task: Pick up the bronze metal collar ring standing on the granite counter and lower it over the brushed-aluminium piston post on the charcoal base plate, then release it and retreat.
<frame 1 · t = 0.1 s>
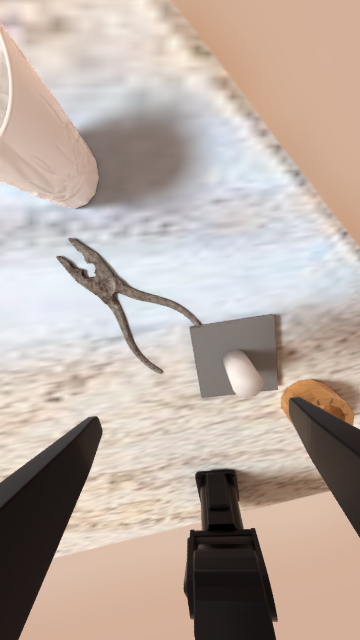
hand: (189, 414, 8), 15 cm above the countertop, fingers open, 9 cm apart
piston block: (233, 356, 23), on the countertop
white cup: (70, 174, 19), on the countertop
ring: (305, 400, 24), on the countertop
pliers: (126, 313, 23), on the countertop
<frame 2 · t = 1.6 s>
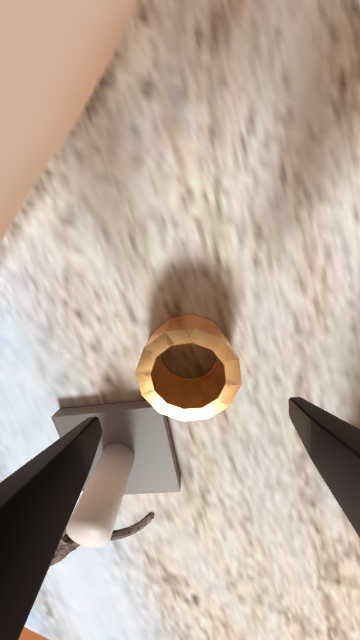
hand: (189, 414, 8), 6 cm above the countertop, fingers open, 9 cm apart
piston block: (122, 445, 17), on the countertop
ring: (188, 353, 14), on the countertop
pliers: (89, 526, 22), on the countertop
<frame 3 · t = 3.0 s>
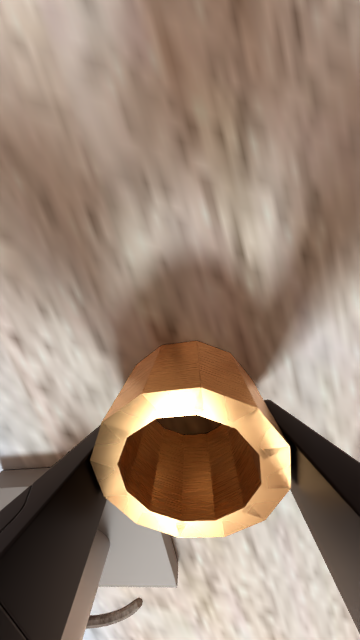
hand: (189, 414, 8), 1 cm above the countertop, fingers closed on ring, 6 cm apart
piston block: (95, 520, 12), on the countertop
ring: (189, 399, 9), on the countertop, touching gripper
pliers: (59, 604, 17), on the countertop
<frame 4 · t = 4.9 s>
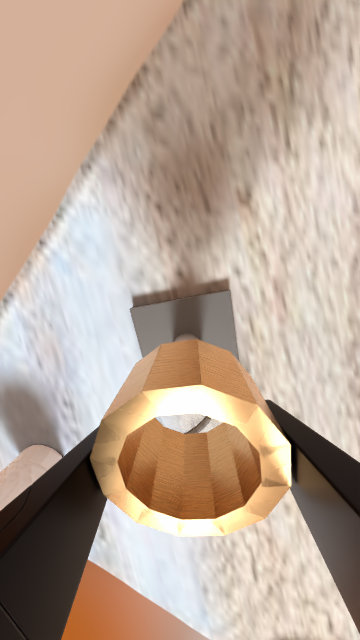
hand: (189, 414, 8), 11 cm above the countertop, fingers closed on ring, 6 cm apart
piston block: (187, 343, 19), on the countertop
white cup: (45, 460, 26), on the countertop
ring: (189, 398, 9), point 10 cm above the countertop, touching gripper
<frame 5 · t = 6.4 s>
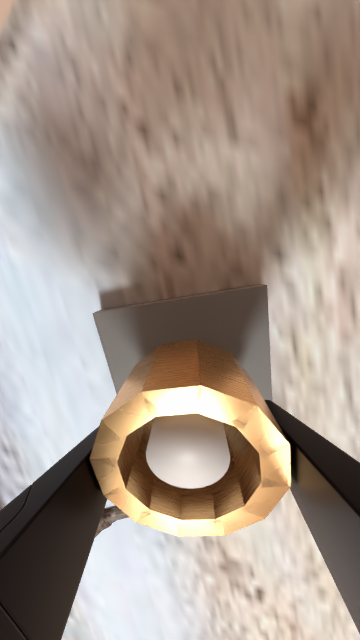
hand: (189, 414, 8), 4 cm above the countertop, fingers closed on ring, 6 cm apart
piston block: (189, 369, 12), on the countertop
ring: (189, 398, 9), point 3 cm above the countertop, touching gripper
pliers: (127, 496, 17), on the countertop
when the fingers open (4 cm above the countertop, at t = 7.2 s): ring drops 2 cm, resting on piston block.
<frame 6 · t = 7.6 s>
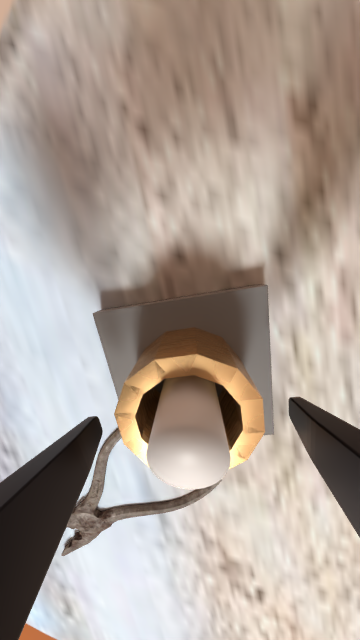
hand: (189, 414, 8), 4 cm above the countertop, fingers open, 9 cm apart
piston block: (189, 369, 12), on the countertop
ring: (189, 377, 11), point 1 cm above the countertop, touching piston block
pliers: (127, 497, 17), on the countertop
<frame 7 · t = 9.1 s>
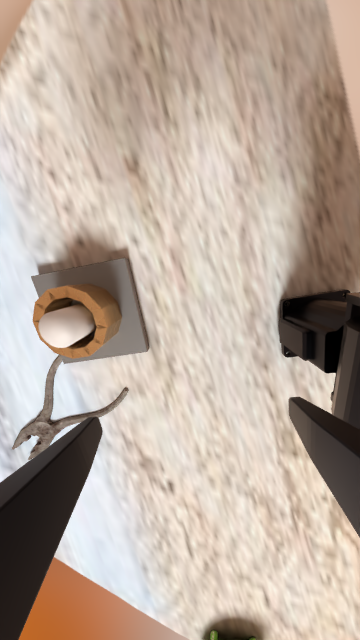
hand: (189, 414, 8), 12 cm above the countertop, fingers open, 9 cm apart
piston block: (96, 313, 19), on the countertop
ring: (91, 315, 19), point 1 cm above the countertop, touching piston block
pliers: (72, 413, 24), on the countertop
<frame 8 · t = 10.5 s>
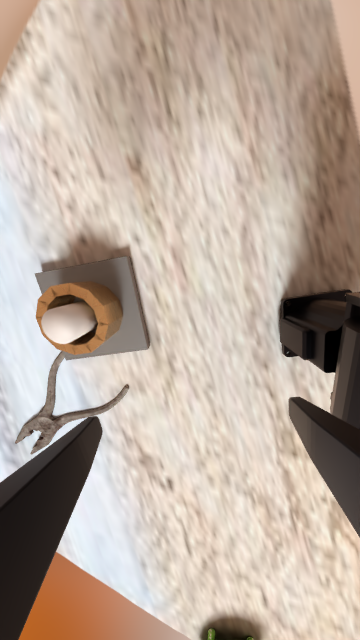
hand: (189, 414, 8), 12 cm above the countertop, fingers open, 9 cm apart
piston block: (98, 311, 20), on the countertop
ring: (93, 312, 19), point 1 cm above the countertop, touching piston block
pliers: (73, 409, 24), on the countertop
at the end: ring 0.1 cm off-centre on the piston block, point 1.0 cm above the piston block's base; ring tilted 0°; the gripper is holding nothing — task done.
